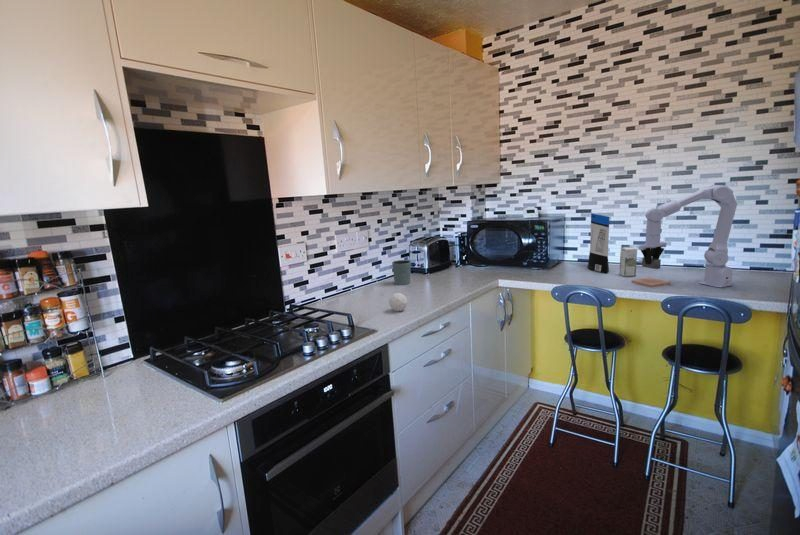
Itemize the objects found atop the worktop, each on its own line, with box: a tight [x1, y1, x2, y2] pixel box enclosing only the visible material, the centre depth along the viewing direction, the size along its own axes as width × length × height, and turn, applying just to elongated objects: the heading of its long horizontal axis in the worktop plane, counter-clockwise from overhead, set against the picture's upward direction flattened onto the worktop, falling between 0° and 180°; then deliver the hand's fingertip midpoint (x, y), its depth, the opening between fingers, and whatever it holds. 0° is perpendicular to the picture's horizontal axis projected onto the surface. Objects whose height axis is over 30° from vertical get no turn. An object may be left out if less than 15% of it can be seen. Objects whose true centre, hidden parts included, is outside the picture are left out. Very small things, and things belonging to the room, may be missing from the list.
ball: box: [388, 292, 408, 312], centre depth 178 cm, size 8×8×8 cm
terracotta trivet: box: [631, 277, 671, 288], centre depth 196 cm, size 11×11×1 cm
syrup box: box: [619, 246, 638, 277], centre depth 211 cm, size 6×6×14 cm
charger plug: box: [638, 257, 662, 270], centre depth 195 cm, size 10×4×4 cm, turn 18°
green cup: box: [391, 259, 412, 286], centre depth 225 cm, size 10×10×12 cm
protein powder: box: [587, 213, 610, 275], centre depth 227 cm, size 10×24×30 cm, turn 176°
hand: (651, 263), depth 194 cm, fingers closed on charger plug, 4 cm apart
